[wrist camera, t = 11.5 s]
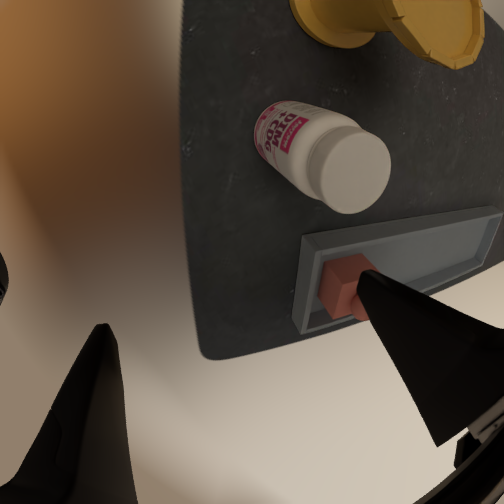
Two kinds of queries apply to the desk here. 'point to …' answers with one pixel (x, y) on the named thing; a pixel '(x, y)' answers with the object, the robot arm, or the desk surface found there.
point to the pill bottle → (324, 154)
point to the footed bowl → (399, 26)
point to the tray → (395, 255)
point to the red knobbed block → (343, 286)
